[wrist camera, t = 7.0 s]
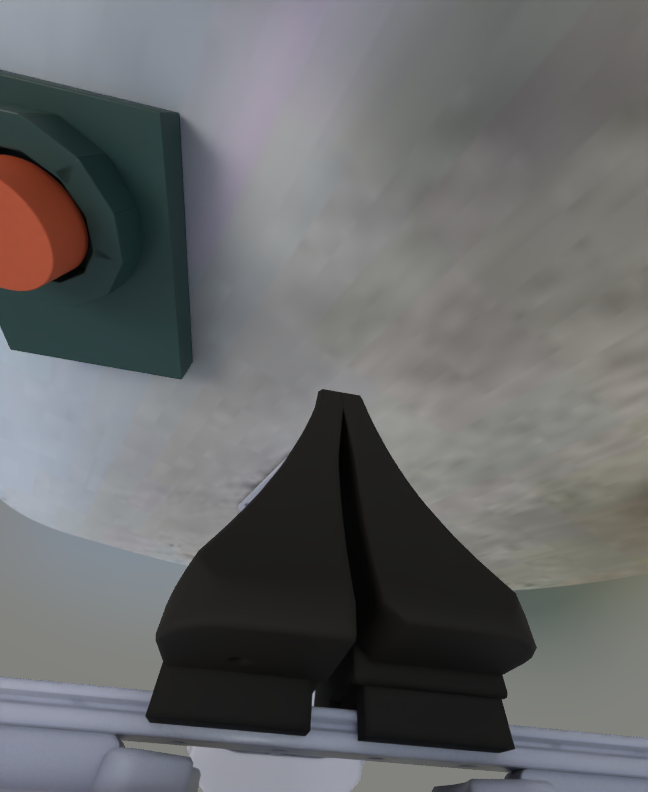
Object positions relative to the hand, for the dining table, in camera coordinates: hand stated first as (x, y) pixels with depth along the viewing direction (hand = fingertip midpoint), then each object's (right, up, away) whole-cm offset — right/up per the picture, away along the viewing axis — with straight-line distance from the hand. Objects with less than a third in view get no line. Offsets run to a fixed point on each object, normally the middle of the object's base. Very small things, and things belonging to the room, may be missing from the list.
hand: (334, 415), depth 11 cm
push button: (-12, +8, +3) cm, 15 cm away
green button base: (-13, +9, +7) cm, 17 cm away
